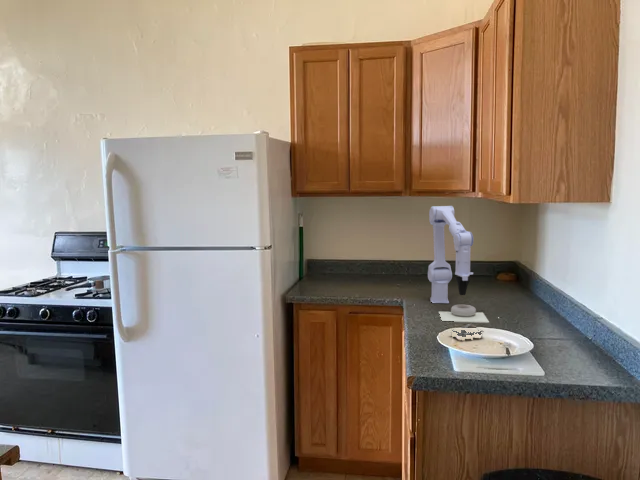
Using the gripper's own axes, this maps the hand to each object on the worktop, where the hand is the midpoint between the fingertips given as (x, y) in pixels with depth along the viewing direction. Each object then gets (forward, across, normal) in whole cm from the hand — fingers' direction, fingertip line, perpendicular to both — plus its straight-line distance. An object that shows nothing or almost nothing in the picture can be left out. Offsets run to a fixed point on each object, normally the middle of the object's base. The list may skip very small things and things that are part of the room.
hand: (462, 294), depth 200 cm
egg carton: (+9, -29, +2) cm, 30 cm away
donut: (+7, +6, -1) cm, 9 cm away
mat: (+9, -3, 0) cm, 9 cm away
